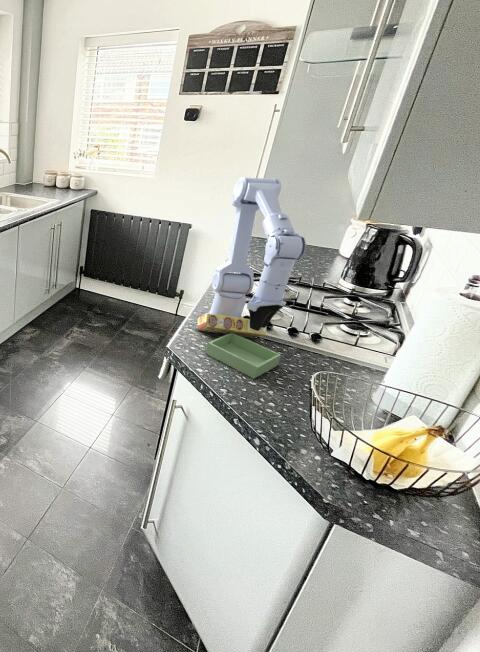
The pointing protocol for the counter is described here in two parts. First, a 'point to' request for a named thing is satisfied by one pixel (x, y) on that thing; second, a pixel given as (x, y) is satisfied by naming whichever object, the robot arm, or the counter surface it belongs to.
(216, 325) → the candy box
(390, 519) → the counter surface
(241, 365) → the tray
